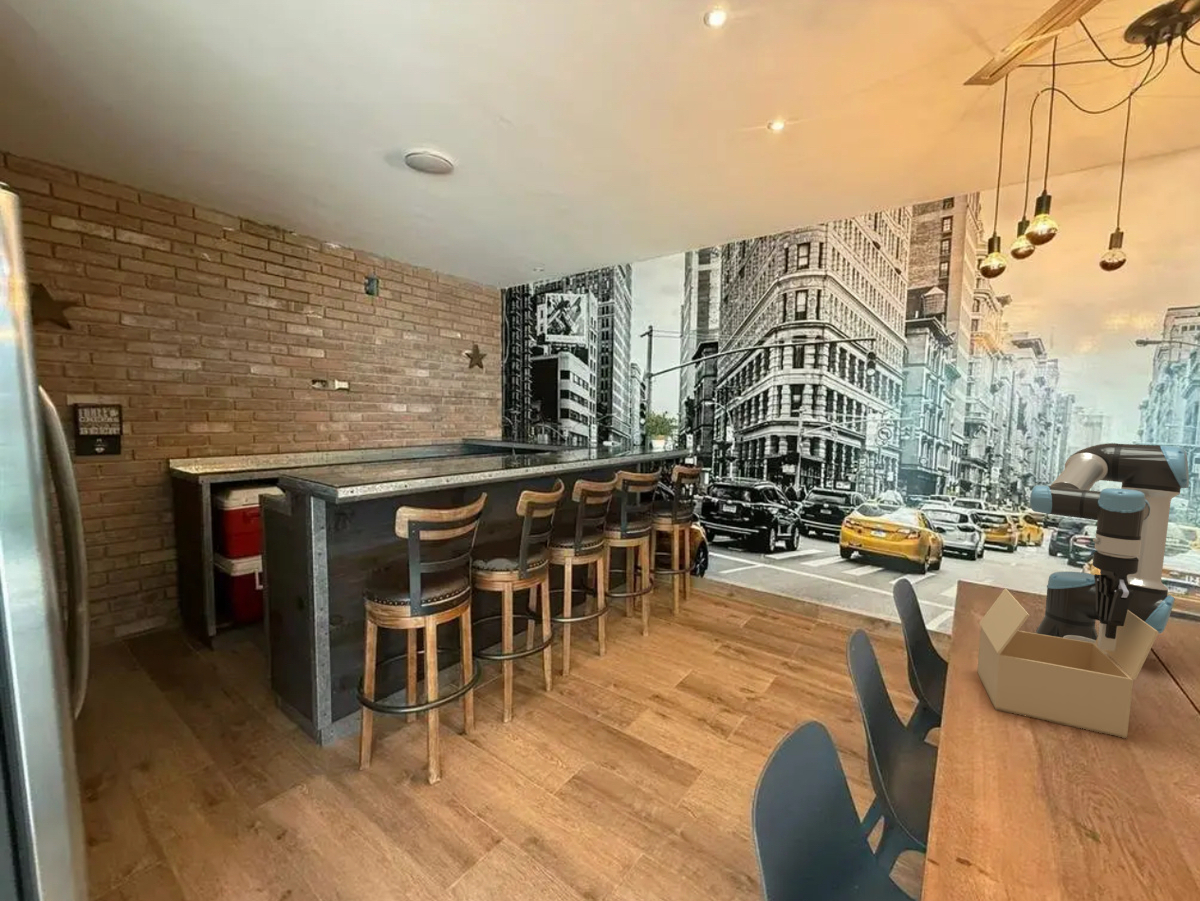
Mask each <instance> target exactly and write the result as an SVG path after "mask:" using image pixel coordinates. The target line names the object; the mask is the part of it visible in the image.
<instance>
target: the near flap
mask: <svg viewBox="0 0 1200 901" xmlns="http://www.w3.org/2000/svg"><path fill="white" fill-rule="evenodd" d="M1158 633H1159V632H1158V631H1157V630H1155V629H1154V628H1153V627H1151V626H1150V625H1148V624H1147V623H1146V622H1144V621H1143V620H1142V619H1140V618H1139V617H1137V616H1136V615H1135V614H1133V613H1132V612H1130V611H1129V610H1128V611H1127V614H1126V618H1125V622H1124V626H1118V629H1117V638H1116V648H1115V652H1114V651H1108V650H1103V651H1104V652H1105V653H1107V654H1108V656H1109V657H1110V658H1111V659H1112V660H1113V661H1114V662H1115V663H1116V664H1117V665H1118V666H1119V667H1120V668H1121V669H1122V670H1123V671H1125V672H1126V673H1127V674H1128V675H1129V676H1130V677H1131V678H1132V679H1133V680H1137V679H1138V676H1139V675H1140V672H1141V670H1142V668H1143V666H1144V664H1145V661H1146V659H1147V657H1148V655H1149V654H1150V651H1151V649H1152V647H1153V645H1154V643H1155V641H1156V639H1157V637H1158V635H1159V634H1158ZM1095 643H1096V644H1097V645H1098V637H1097V639H1096V642H1095Z"/></svg>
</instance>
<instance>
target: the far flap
mask: <svg viewBox="0 0 1200 901" xmlns="http://www.w3.org/2000/svg"><path fill="white" fill-rule="evenodd" d="M1029 617H1030V614H1029V613H1028V612H1027V610H1026V609H1025V608H1024V607H1023V605H1022V604H1020V602H1019V601H1018V600H1017V599H1016V598H1015V597H1014V596H1013V594H1012V593H1011V592H1010V591H1009V589H1007V588H1004V589H1003V590H1002V592H1001V593H1000V594H999V596H998V597H997V599H995V601H994V602H993V604H992V605H991V606H990V608H989V609H988V610H987V611H986V613H985V614H984V616H983V617H982V618H981V620H980V621H979V625H980V628H981V627H982V628H983V630H984V632H985V633H986V635H987V637H988V638H989V640H990V641H991V643H992V645H993V646H994V648H995V650H996V651H997V653H998V654H1000V653H1001V652H1002V651H1003V649H1004V648H1005V647H1006V645H1007V644H1008V643H1009V641H1010V640H1011V639H1012V638H1013V636H1014V635H1015V634H1016V632H1017V631H1020V629H1021V627H1022V626H1024V623H1025V622H1026V621H1027V619H1028V618H1029Z"/></svg>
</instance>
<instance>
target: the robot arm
mask: <svg viewBox="0 0 1200 901" xmlns="http://www.w3.org/2000/svg"><path fill="white" fill-rule="evenodd" d="M1187 455H1188V454H1187V452H1186V450H1185V449H1184V448H1182V447H1179V446H1171V445H1163V444H1161V445H1160V444H1159V445H1157V444H1131V443H1115V442H1114V443H1113V442H1111V443H1109V442H1108V443H1101V444H1097V445H1096V444H1095V445H1092V446H1088V447H1085V448H1083V449H1081V450H1078V451H1076V452H1074V453H1073V454H1071V455H1070V456H1069V457H1068V458H1067V459H1066V461H1065V462H1064V463H1065V464H1064V470H1062V472H1061V473H1059V475H1058V476H1057V477H1056V479H1055V480H1054V481H1053V482H1052V483H1051V485H1046V484H1045V485H1039V484H1038V485H1035V486H1033V488H1032V489H1031V492H1030V498H1029V504H1030V505H1029V506H1030V509H1031V510H1032V511H1033V512H1034V513H1041V514H1046V515H1053V516H1061V517H1068V518H1077V519H1084V520H1090V521H1091V520H1093V521H1096V530H1095V537H1093V538H1092V542H1095V543H1094V549H1095V550H1096V551H1094V552H1093V559H1092V566H1093V567H1094V568H1095V569H1098V570H1100V574H1097V573H1095V574H1092V573H1088V572H1080V571H1079V572H1078V571H1056V572H1053V573H1051V574H1050V575H1049V577H1048V579H1047V585H1046V588H1047V589H1046V600H1045V610H1044V611H1045V612H1044V617H1043V618H1042V620H1041V622H1040V624H1039V625H1038V627H1037V629H1036V632H1035V633H1037V634H1043V635H1049V636H1055V637H1061V638H1063V637H1064V636H1066V635H1075V636H1081V637H1086V638H1090V639H1093V640H1096V639H1097V637H1098V645H1097V647H1098V648H1099V649H1102V650H1108V651H1114V652H1115V648H1116V638H1117V629H1118V626H1124V622H1125V618H1126V614H1127V611H1128V610H1129V611H1130V612H1132V613H1133V614H1135V615H1136V616H1137V617H1139V618H1140V619H1142V620H1143V621H1144V622H1146V623H1147V624H1148V625H1150V626H1151V627H1153V628H1154V629H1155V630H1157V631H1158V632H1159V633H1158V635H1160V634H1162V633H1164V631H1165V629H1166V627H1167V624H1168V621H1169V618H1170V616H1171V613H1172V610H1173V607H1174V603H1175V600H1176V599H1175V598H1176V597H1174V596H1172V595H1171V594H1168V592H1169V588H1168V587H1167V586H1166V585H1165V584H1163V582H1162V577H1163V576H1162V575H1163V567H1164V559H1165V553H1166V552H1165V551H1166V545H1167V544H1166V542H1167V536H1168V535H1167V534H1168V526H1169V518H1170V517H1169V516H1170V513H1171V512H1170V511H1171V504H1172V503H1171V501H1172V499H1173V498H1175V497H1177V496H1178V495H1180V494H1181V489H1187V488H1189V487H1190V486H1189V485H1190V481H1189V480H1190V479H1189V478H1190V475H1189V474H1190V473H1189V465H1188V463H1189V462H1188V457H1187ZM1099 481H1106V482H1113V483H1116V482H1117V483H1121V488H1117V487H1116V488H1113V487H1112V488H1110V487H1109V488H1103V489H1102V490H1101V491H1099V490H1091V489H1092V487H1093V486H1094V484H1095V483H1096V482H1099ZM1096 621H1099V627H1098V632H1097V629H1096Z"/></svg>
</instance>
